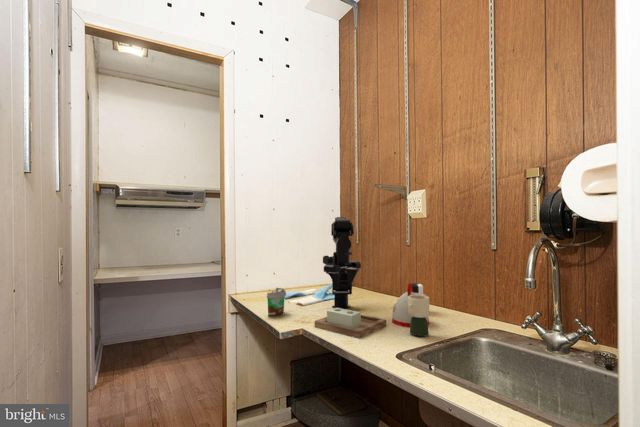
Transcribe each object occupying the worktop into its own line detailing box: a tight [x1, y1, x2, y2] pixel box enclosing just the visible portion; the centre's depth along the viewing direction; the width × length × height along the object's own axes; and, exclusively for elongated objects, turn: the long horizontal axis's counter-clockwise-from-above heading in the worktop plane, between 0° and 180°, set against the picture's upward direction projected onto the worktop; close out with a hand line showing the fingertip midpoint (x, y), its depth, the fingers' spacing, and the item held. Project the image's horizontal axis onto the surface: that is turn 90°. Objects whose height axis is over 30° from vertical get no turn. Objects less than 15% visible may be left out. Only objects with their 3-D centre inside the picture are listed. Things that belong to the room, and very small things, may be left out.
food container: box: [266, 287, 287, 318], centre depth 146 cm, size 12×6×10 cm, turn 168°
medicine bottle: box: [411, 283, 426, 296], centre depth 148 cm, size 7×7×12 cm
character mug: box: [408, 295, 430, 337], centre depth 117 cm, size 11×7×13 cm, turn 127°
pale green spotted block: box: [326, 308, 362, 329], centre depth 125 cm, size 6×11×5 cm, turn 50°
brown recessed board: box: [314, 314, 387, 339], centre depth 128 cm, size 18×20×2 cm
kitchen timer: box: [391, 282, 430, 329], centre depth 132 cm, size 14×14×15 cm
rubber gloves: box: [285, 284, 335, 307], centre depth 180 cm, size 27×33×6 cm
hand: (343, 287), depth 141 cm, fingers open, 9 cm apart
